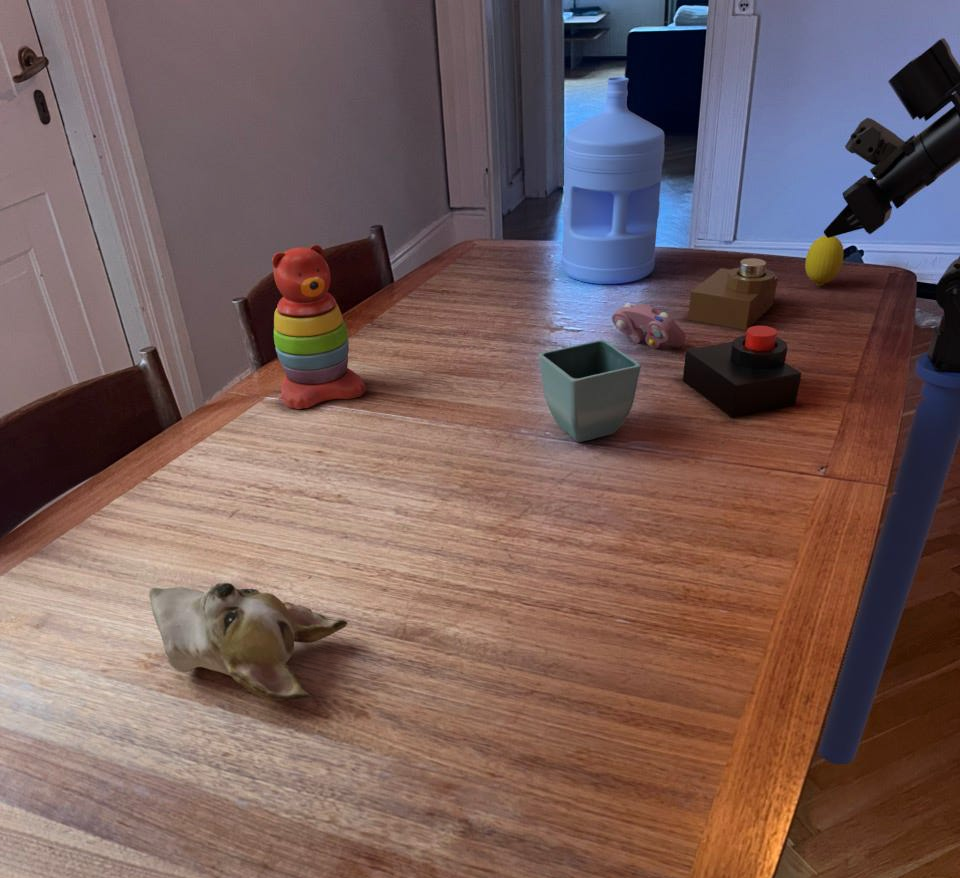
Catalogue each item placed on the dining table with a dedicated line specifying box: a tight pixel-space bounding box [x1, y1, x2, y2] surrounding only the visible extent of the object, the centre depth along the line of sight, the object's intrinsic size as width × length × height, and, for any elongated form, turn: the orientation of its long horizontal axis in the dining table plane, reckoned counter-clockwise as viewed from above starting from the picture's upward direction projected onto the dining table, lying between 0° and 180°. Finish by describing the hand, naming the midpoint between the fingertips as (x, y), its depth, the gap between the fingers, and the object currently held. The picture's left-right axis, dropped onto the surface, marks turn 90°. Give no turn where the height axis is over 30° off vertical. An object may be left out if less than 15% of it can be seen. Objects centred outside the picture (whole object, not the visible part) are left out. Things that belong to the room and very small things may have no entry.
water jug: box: [560, 76, 666, 285], centre depth 146 cm, size 16×16×28 cm
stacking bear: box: [271, 244, 367, 410], centre depth 115 cm, size 11×10×18 cm
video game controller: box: [611, 302, 686, 350], centre depth 128 cm, size 10×5×7 cm, turn 47°
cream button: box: [738, 257, 767, 278], centre depth 133 cm, size 4×4×2 cm
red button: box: [745, 325, 778, 351], centre depth 113 cm, size 4×4×2 cm
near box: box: [682, 334, 803, 419], centre depth 114 cm, size 10×12×6 cm
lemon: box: [804, 234, 845, 287], centre depth 143 cm, size 6×6×8 cm
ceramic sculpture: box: [148, 582, 348, 702], centre depth 75 cm, size 11×9×15 cm
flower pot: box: [538, 339, 642, 443], centre depth 106 cm, size 9×9×9 cm
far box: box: [687, 266, 779, 331], centre depth 136 cm, size 10×12×6 cm
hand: (825, 234), depth 125 cm, fingers closed
